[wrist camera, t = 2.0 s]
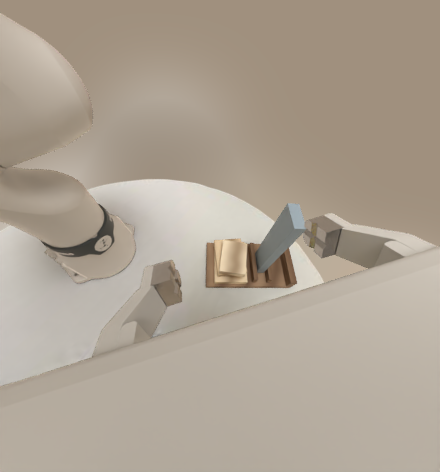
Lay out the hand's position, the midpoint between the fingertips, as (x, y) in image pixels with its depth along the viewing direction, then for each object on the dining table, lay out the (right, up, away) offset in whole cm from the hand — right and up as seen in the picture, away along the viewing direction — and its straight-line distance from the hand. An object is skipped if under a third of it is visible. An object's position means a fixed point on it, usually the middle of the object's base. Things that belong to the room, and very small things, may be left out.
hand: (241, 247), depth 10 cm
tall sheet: (+9, -7, +37) cm, 39 cm away
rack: (+6, -7, +38) cm, 39 cm away
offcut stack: (+1, -7, +36) cm, 37 cm away
